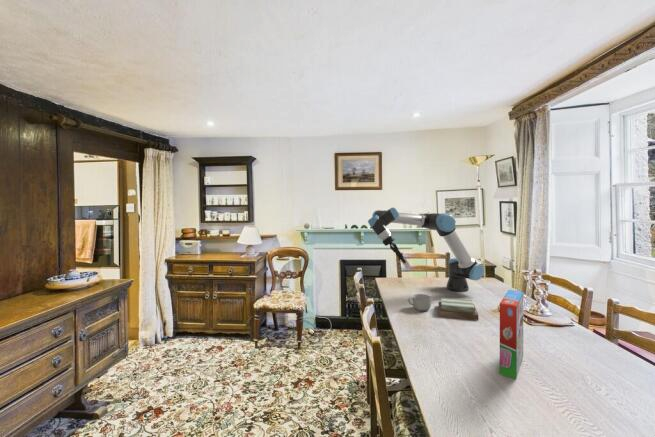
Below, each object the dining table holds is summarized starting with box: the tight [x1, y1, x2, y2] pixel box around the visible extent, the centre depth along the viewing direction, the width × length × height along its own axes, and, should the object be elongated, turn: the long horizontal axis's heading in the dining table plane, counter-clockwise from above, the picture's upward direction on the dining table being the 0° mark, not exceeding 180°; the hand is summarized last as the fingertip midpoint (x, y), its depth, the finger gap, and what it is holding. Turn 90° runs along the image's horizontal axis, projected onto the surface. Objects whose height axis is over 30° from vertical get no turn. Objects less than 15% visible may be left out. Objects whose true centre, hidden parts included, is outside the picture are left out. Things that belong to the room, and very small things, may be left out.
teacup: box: [407, 293, 432, 312], centre depth 179 cm, size 14×11×8 cm
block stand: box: [438, 297, 479, 321], centre depth 172 cm, size 18×20×6 cm
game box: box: [499, 289, 524, 380], centre depth 115 cm, size 21×6×27 cm, turn 141°
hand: (407, 265), depth 179 cm, fingers open, 13 cm apart
